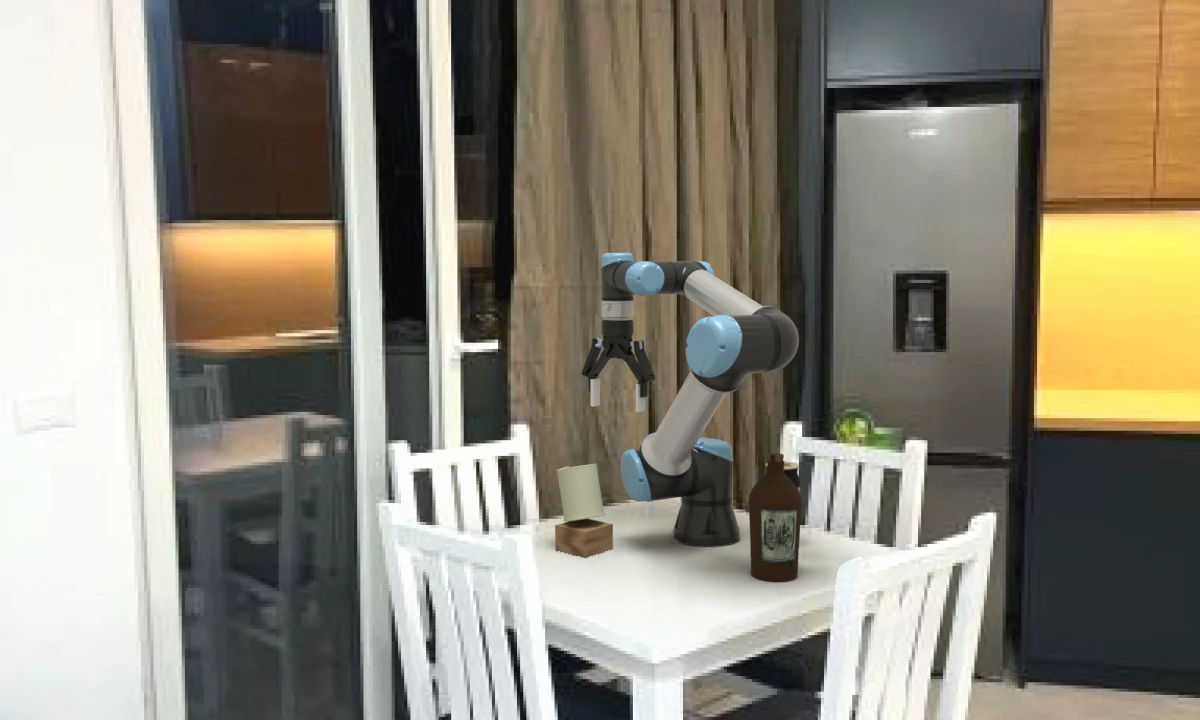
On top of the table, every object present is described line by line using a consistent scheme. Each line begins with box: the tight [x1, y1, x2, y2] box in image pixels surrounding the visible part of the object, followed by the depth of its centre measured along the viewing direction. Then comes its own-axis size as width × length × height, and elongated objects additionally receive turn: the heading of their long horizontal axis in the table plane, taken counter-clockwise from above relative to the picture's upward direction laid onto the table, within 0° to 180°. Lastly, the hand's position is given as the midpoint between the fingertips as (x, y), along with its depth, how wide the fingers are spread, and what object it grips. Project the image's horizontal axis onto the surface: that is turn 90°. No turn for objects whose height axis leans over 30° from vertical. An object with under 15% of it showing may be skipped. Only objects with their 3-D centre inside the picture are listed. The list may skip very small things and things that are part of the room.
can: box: [556, 463, 606, 523], centre depth 238 cm, size 9×9×12 cm
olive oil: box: [748, 452, 803, 583], centre depth 217 cm, size 11×11×25 cm
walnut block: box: [554, 518, 614, 559], centre depth 237 cm, size 9×9×6 cm
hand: (617, 408), depth 253 cm, fingers open, 13 cm apart
